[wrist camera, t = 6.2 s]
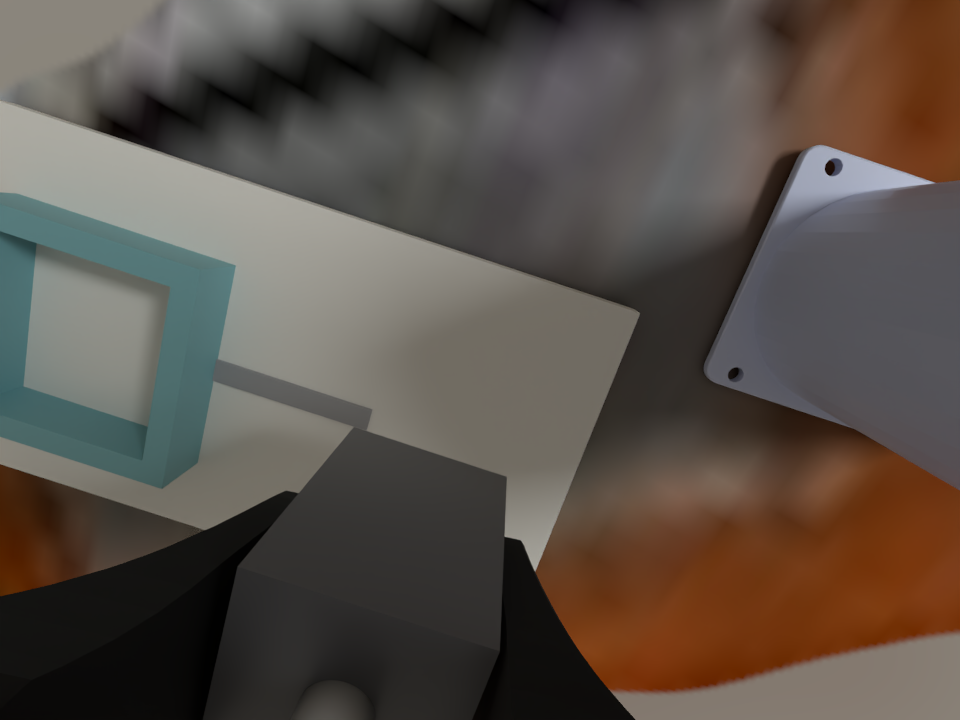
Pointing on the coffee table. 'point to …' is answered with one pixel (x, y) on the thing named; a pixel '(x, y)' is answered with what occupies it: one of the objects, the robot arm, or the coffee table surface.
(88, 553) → the coffee table surface
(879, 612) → the coffee table surface
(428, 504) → the cable plug
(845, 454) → the coffee table surface
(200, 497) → the board
